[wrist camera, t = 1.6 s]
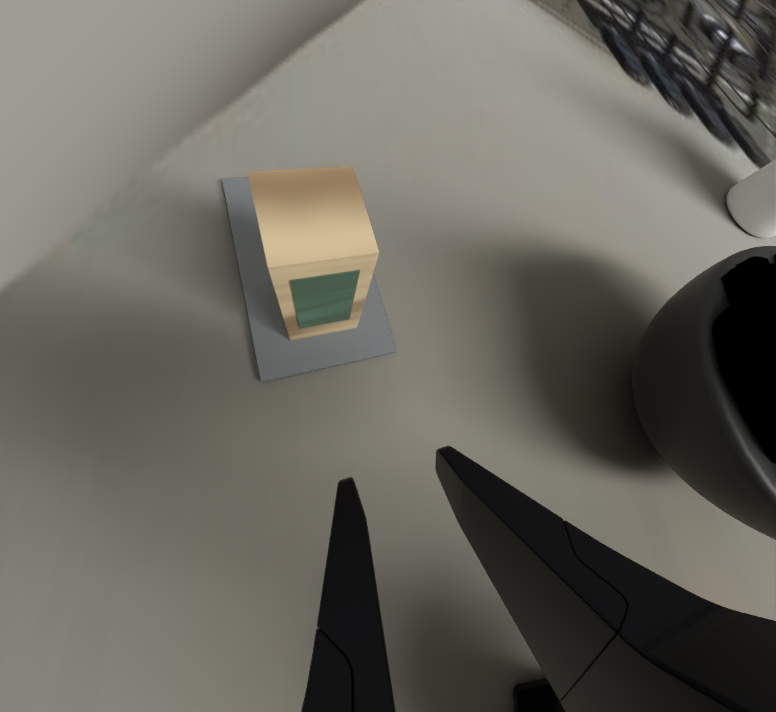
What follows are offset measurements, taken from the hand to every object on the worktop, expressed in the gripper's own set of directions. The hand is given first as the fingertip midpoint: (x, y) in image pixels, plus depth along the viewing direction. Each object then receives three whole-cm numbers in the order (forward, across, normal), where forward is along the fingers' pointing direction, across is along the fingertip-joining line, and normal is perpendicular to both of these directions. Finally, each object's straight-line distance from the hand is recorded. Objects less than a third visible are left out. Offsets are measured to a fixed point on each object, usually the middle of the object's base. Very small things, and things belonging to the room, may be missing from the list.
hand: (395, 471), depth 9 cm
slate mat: (+20, 0, -1) cm, 20 cm away
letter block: (+18, 0, +1) cm, 18 cm away
